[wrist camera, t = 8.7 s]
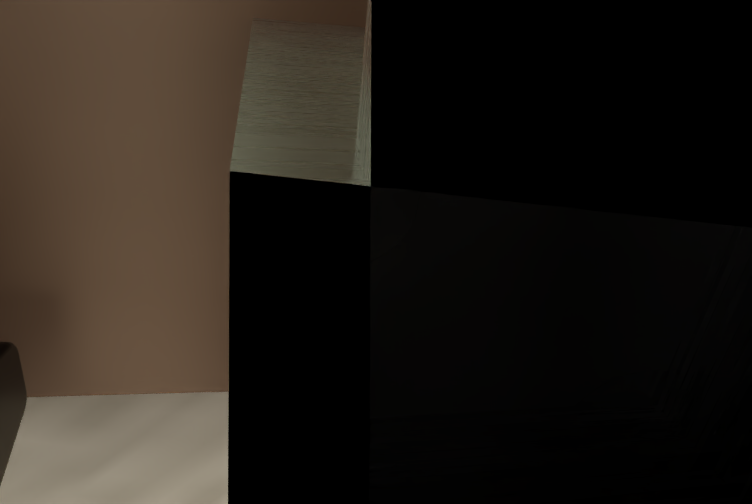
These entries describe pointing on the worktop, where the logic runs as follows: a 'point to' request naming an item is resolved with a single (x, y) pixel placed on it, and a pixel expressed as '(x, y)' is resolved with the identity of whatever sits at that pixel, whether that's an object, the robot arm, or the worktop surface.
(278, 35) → the grey bridge
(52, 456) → the worktop surface
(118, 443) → the worktop surface
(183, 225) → the board
